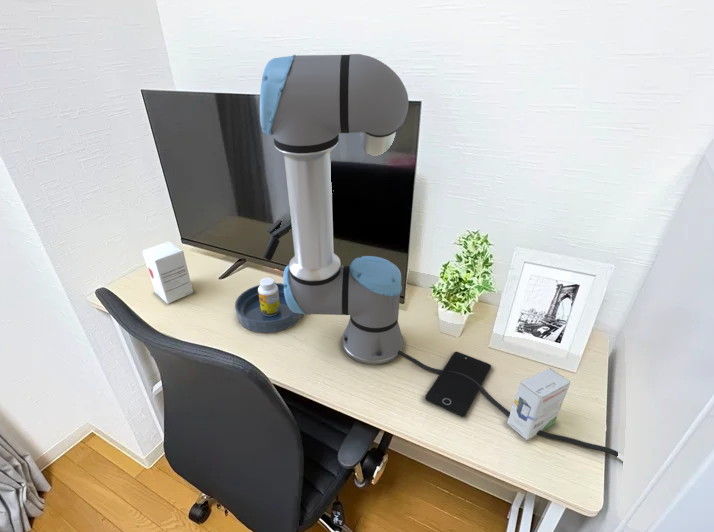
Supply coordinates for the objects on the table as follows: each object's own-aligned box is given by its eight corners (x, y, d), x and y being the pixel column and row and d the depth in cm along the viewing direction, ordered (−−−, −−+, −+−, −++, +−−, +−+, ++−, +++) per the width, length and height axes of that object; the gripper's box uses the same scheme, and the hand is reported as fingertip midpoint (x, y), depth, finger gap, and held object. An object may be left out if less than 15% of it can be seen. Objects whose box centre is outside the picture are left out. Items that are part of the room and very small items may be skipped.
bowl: (317, 308, 120) (317, 296, 118) (272, 343, 108) (270, 331, 105) (269, 287, 130) (268, 276, 128) (223, 317, 118) (220, 305, 115)
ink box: (526, 441, 81) (543, 400, 74) (505, 422, 85) (519, 381, 78) (555, 423, 84) (574, 382, 77) (534, 406, 88) (549, 365, 81)
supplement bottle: (259, 308, 120) (255, 278, 114) (278, 304, 121) (274, 274, 116) (263, 319, 116) (258, 288, 110) (282, 315, 117) (279, 284, 111)
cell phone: (424, 399, 90) (424, 396, 90) (454, 353, 102) (455, 350, 101) (464, 418, 86) (464, 415, 85) (491, 367, 98) (492, 364, 97)
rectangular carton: (154, 292, 129) (140, 250, 121) (180, 282, 134) (169, 240, 126) (167, 304, 124) (154, 260, 115) (194, 293, 129) (183, 250, 120)
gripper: (357, 213, 114) (325, 283, 113) (289, 195, 127) (260, 258, 126) (346, 201, 108) (312, 275, 107) (276, 183, 121) (245, 249, 120)
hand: (284, 266), depth 117 cm, fingers open, 13 cm apart
